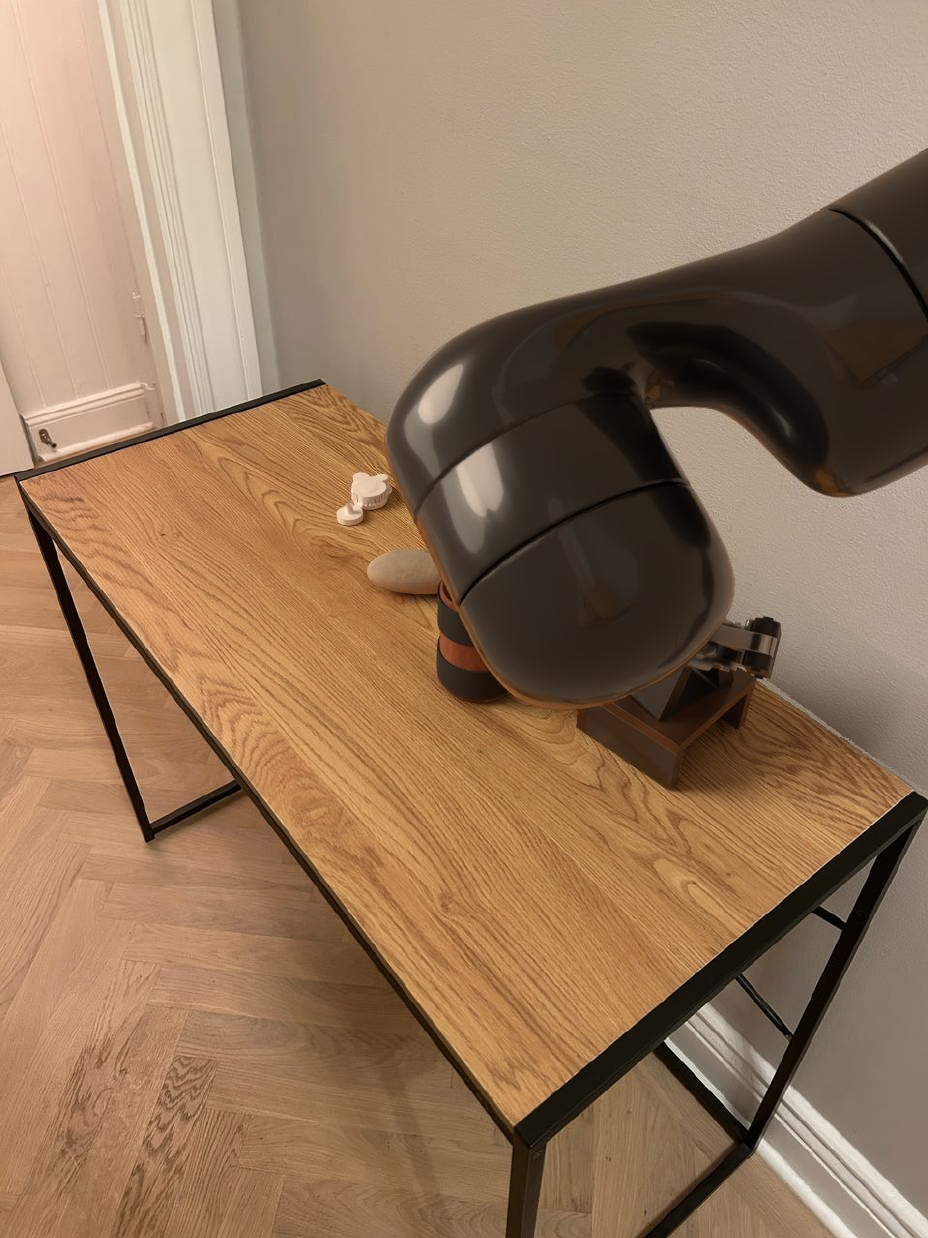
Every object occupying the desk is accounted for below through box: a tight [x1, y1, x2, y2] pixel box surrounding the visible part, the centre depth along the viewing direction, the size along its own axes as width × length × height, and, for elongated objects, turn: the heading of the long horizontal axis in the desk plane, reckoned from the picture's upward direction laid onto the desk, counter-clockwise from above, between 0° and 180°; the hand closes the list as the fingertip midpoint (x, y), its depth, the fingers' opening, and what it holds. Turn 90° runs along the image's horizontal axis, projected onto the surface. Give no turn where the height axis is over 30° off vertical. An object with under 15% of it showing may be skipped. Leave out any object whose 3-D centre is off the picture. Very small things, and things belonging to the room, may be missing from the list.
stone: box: [366, 548, 442, 595], centre depth 105 cm, size 6×6×12 cm
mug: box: [435, 580, 510, 704], centre depth 92 cm, size 9×12×12 cm
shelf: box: [575, 666, 758, 792], centre depth 87 cm, size 11×12×10 cm
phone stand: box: [631, 666, 734, 722], centre depth 82 cm, size 9×6×12 cm, turn 122°
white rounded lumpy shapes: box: [336, 471, 393, 527], centre depth 119 cm, size 9×9×2 cm
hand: (651, 634), depth 57 cm, fingers open, 8 cm apart
